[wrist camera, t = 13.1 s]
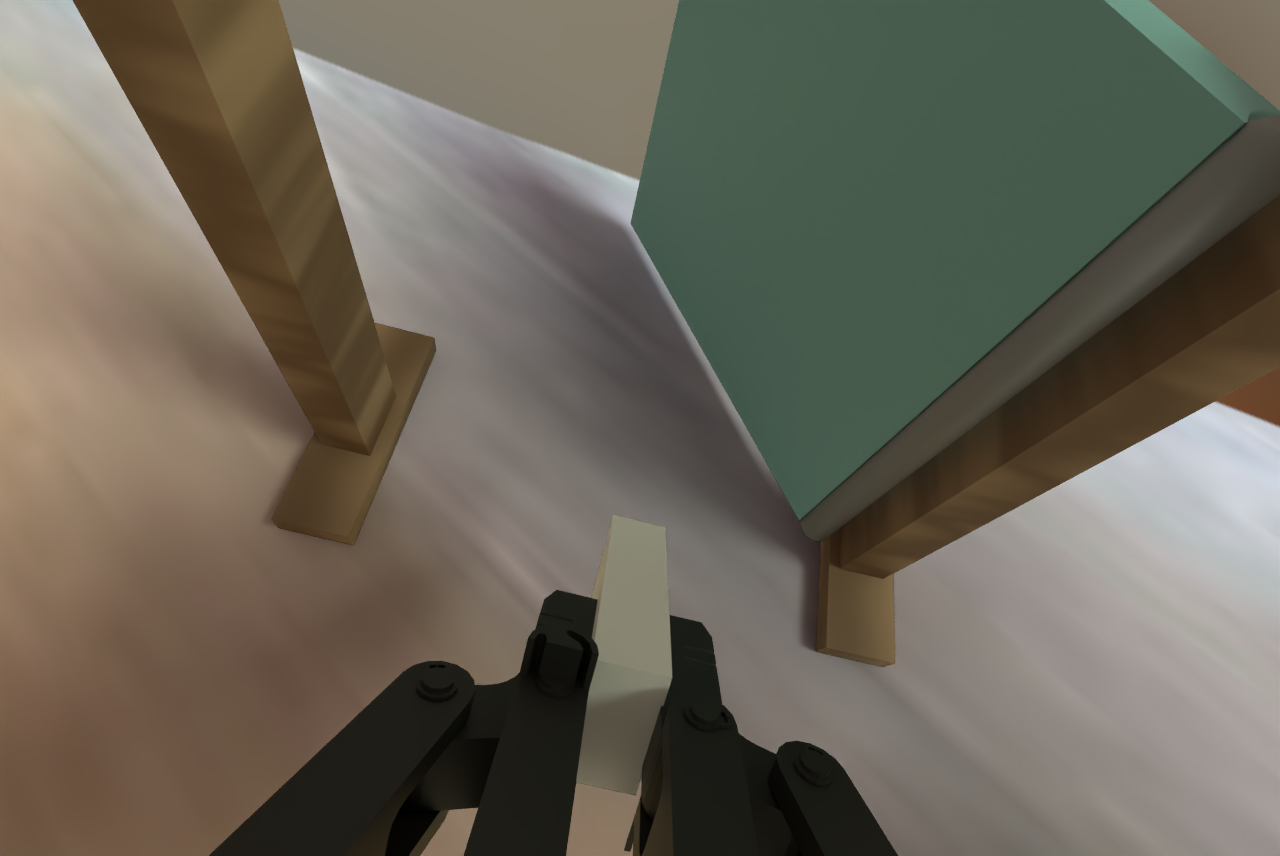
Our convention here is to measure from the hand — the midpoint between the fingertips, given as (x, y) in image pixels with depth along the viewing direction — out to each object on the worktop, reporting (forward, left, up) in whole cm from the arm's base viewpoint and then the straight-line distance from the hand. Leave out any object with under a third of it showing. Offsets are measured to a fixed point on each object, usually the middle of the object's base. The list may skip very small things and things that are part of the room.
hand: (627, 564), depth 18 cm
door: (+1, -15, -8) cm, 17 cm away
